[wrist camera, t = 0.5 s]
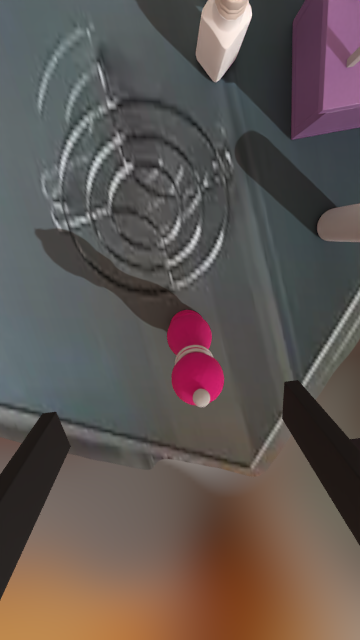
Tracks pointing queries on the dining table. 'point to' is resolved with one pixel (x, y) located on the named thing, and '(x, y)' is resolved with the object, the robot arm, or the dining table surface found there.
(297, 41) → the file box
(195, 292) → the dining table surface
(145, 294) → the dining table surface
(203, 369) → the pepper mill
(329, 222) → the beverage can
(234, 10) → the salt shaker
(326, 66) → the lid
